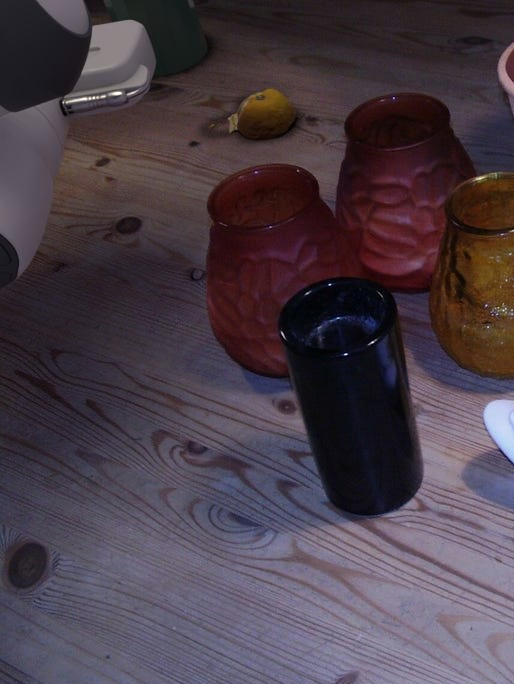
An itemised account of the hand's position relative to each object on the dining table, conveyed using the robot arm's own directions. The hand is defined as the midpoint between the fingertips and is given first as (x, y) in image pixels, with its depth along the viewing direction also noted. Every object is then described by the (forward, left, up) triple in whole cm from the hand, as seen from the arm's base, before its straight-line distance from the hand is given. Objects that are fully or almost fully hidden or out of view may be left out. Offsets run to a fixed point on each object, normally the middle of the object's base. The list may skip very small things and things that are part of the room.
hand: (28, 31), depth 79 cm
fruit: (+12, +13, -18) cm, 25 cm away
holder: (0, +28, -18) cm, 33 cm away
